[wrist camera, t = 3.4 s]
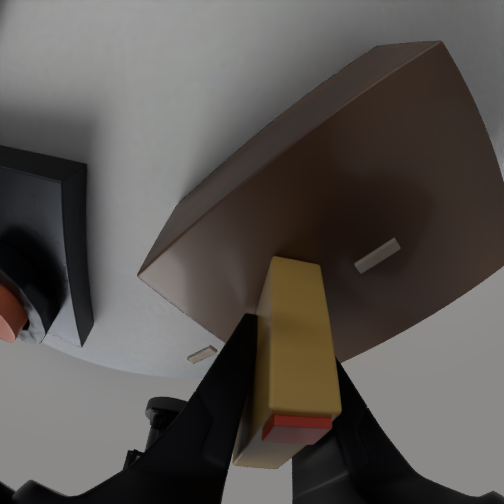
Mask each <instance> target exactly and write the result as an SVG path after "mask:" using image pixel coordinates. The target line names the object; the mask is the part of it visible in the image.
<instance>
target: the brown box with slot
mask: <svg viewBox="0 0 504 504" xmlns="http://www.w3.org/2000/svg"><path fill="white" fill-rule="evenodd" d="M273 256H277V257H282V258H288V259H293V260H298V261H303V262H308V263H313V264H318V265H320V268H321V273H322V279H323V284H324V290H325V295H326V301H327V307H328V313H329V319H330V326H331V332H332V339H333V345H334V352H335V356H336V357H337V359H338V361H339V362H340V363H342V362H344V361H346V360H348V359H350V358H352V357H354V356H356V355H359V354H361V353H363V352H365V351H367V350H369V349H371V348H373V347H375V346H377V345H379V344H381V343H383V342H385V341H386V340H388V339H390V338H392V337H394V336H396V335H397V334H399V333H401V332H403V331H405V330H407V329H408V328H410V327H412V326H414V325H415V324H417V323H419V322H421V321H422V320H424V319H426V318H427V317H429V316H431V315H432V314H434V313H436V312H437V311H439V310H440V309H442V308H444V307H445V306H447V305H449V304H450V303H452V302H453V301H455V300H456V299H458V298H459V297H461V296H462V295H464V294H465V293H467V292H468V291H470V290H471V289H472V288H474V287H475V286H477V285H478V284H480V283H481V282H483V281H484V280H485V279H487V278H488V277H489V276H491V275H492V274H494V273H495V272H496V271H497V270H499V269H500V268H502V267H503V266H504V181H503V178H502V174H501V171H500V168H499V165H498V161H497V158H496V155H495V152H494V149H493V146H492V144H491V141H490V138H489V135H488V133H487V130H486V128H485V125H484V123H483V120H482V118H481V115H480V113H479V111H478V108H477V106H476V104H475V102H474V100H473V97H472V95H471V93H470V91H469V89H468V87H467V85H466V83H465V81H464V79H463V77H462V75H461V73H460V71H459V70H458V68H457V66H456V64H455V62H454V61H453V59H452V57H451V55H450V54H449V52H448V50H447V49H446V47H445V45H444V44H443V42H442V41H423V42H409V43H398V44H389V45H381V46H376V47H375V48H373V49H371V50H370V51H368V52H367V53H365V54H364V55H362V56H361V57H359V58H358V59H356V60H355V61H353V62H352V63H350V64H349V65H348V66H346V67H345V68H343V69H342V70H340V71H339V72H337V73H336V74H335V75H333V76H332V77H330V78H329V79H328V80H326V81H325V82H323V83H322V84H321V85H319V86H318V87H317V88H315V89H314V90H313V91H311V92H310V93H308V94H307V95H306V96H304V97H303V98H302V99H301V100H299V101H298V102H297V103H295V104H294V105H293V106H291V107H290V108H289V109H287V110H286V111H285V112H284V113H282V114H281V115H280V116H279V117H277V118H276V119H275V120H274V121H272V122H271V123H270V124H269V125H267V126H266V127H265V128H264V129H262V130H261V131H260V132H259V133H258V134H256V135H255V136H254V137H253V138H251V139H250V140H249V141H248V142H247V143H246V144H244V145H243V146H242V147H241V148H240V149H238V150H237V151H236V152H235V153H234V154H233V155H231V156H230V157H229V158H228V159H227V160H226V161H225V162H223V163H222V164H221V165H220V166H219V167H218V168H217V169H215V170H214V171H213V172H212V173H211V174H210V175H209V176H208V177H207V178H205V179H204V180H203V181H202V182H201V183H200V184H199V185H198V186H197V187H196V188H195V189H193V190H192V191H191V192H190V193H189V194H188V195H187V196H186V197H185V198H184V199H183V200H182V201H181V202H180V203H179V204H178V205H177V206H176V207H175V209H174V211H173V212H172V214H171V216H170V217H169V219H168V221H167V222H166V224H165V226H164V227H163V229H162V231H161V232H160V234H159V236H158V238H157V239H156V241H155V243H154V245H153V246H152V248H151V250H150V252H149V254H148V255H147V257H146V259H145V261H144V263H143V264H142V266H141V268H140V270H139V272H138V274H137V276H138V277H139V278H140V279H141V280H142V281H144V282H145V283H146V284H147V285H148V286H150V287H151V288H152V289H153V290H155V291H156V292H157V293H159V294H160V295H161V296H162V297H164V298H165V299H166V300H168V301H169V302H170V303H171V304H173V305H174V306H175V307H177V308H178V309H179V310H181V311H182V312H183V313H185V314H186V315H187V316H189V317H190V318H191V319H193V320H194V321H195V322H197V323H198V324H199V325H201V326H202V327H204V328H205V329H206V330H208V331H209V332H211V333H212V334H213V335H215V336H216V337H218V338H219V339H220V340H222V341H223V342H225V343H226V342H227V341H228V339H229V337H230V336H231V334H232V333H233V331H234V330H235V328H236V326H237V325H238V323H239V322H240V320H241V318H242V317H243V315H244V314H245V313H250V314H256V310H257V307H258V304H259V300H260V297H261V294H262V290H263V287H264V284H265V280H266V277H267V273H268V270H269V267H270V263H271V260H272V258H273ZM215 353H217V349H216V348H214V347H213V346H211V345H210V346H208V347H206V348H204V349H202V350H200V351H198V352H196V353H194V354H192V355H190V356H188V358H187V360H188V361H190V362H191V363H193V364H194V363H197V362H199V361H201V360H203V359H205V358H207V357H209V356H211V355H213V354H215Z"/></svg>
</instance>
